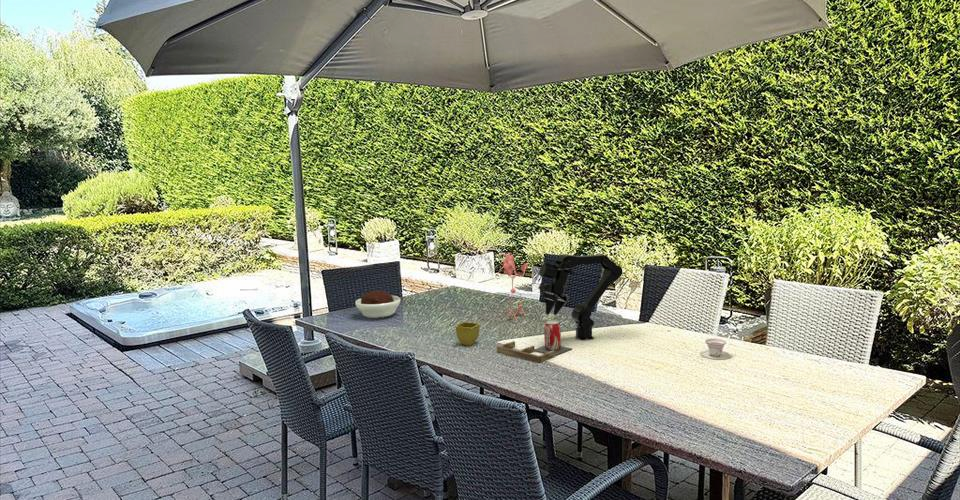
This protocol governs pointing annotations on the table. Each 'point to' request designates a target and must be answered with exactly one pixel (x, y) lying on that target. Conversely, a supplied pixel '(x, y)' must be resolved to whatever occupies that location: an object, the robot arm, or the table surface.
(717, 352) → the teacup
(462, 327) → the flower pot
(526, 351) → the shelf lanes
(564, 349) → the rubber mat
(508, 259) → the figurine
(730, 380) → the table surface
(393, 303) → the white dessert bowl
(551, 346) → the soda can
